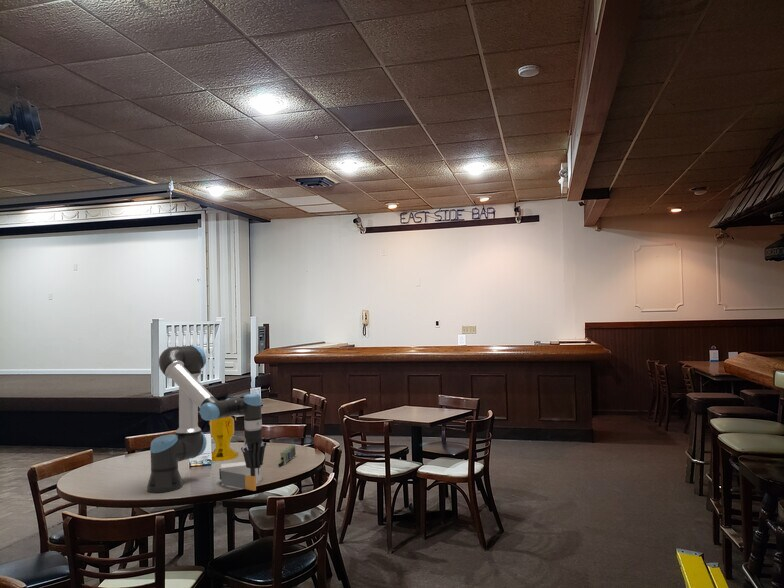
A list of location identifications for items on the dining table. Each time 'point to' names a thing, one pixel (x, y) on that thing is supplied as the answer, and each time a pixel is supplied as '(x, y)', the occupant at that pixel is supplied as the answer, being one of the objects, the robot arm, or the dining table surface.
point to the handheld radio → (287, 454)
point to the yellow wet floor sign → (222, 438)
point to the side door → (238, 480)
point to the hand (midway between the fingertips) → (255, 482)
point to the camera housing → (237, 469)
